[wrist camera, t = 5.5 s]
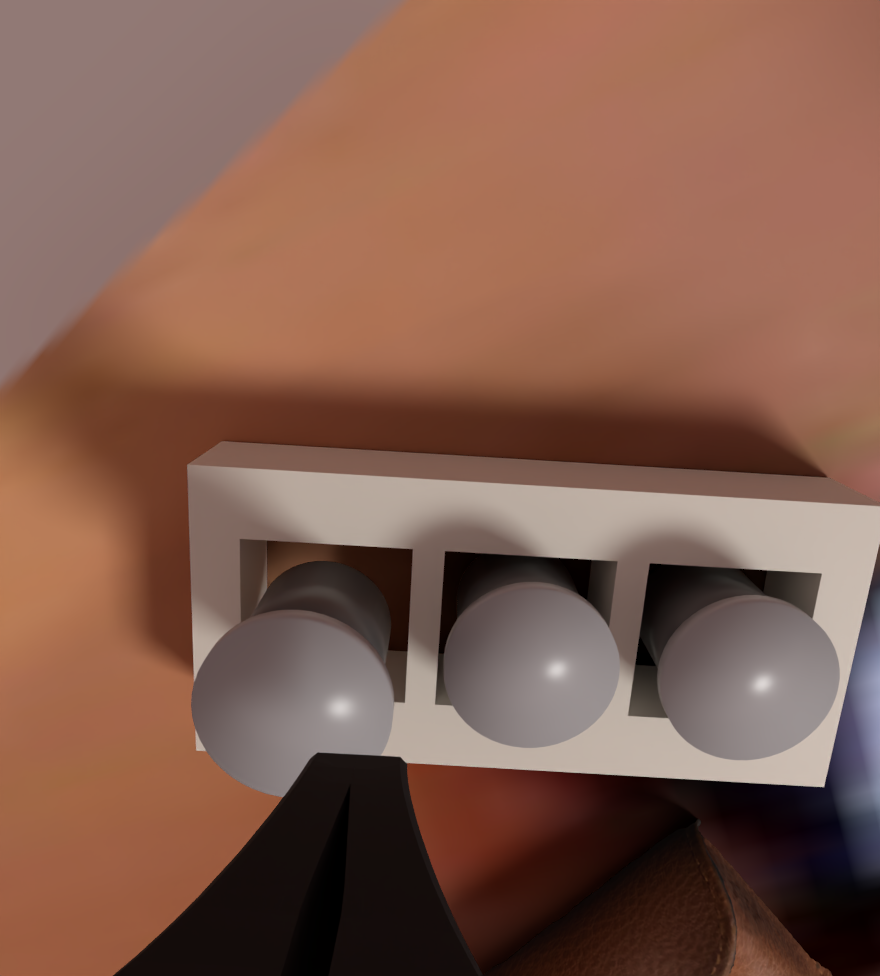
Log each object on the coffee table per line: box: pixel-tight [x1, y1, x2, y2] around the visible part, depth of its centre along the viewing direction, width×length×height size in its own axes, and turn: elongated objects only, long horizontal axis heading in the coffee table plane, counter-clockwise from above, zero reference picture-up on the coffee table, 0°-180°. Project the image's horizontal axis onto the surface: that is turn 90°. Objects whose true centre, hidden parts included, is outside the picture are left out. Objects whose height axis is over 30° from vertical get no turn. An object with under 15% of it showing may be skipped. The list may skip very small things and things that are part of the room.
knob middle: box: [444, 553, 620, 748], centre depth 17 cm, size 4×4×4 cm
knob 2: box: [639, 564, 840, 760], centre depth 17 cm, size 4×4×4 cm
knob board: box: [187, 441, 880, 787], centre depth 18 cm, size 15×7×2 cm, turn 87°
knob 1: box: [191, 561, 394, 797], centre depth 15 cm, size 4×4×4 cm
